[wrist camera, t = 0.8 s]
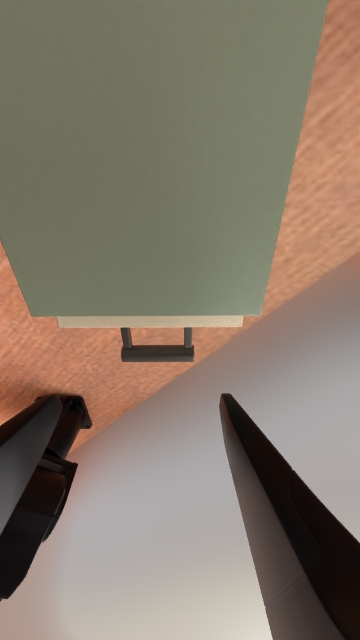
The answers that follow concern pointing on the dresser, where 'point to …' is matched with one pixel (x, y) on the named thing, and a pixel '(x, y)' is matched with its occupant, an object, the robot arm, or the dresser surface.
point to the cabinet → (149, 150)
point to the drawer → (152, 351)
